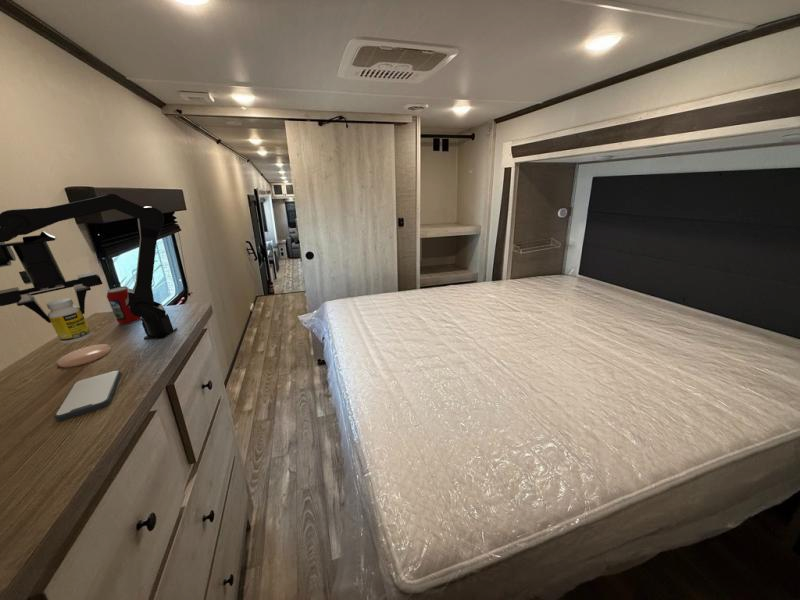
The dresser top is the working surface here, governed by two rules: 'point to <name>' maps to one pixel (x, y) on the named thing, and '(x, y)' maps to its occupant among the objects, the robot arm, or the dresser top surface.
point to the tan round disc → (84, 355)
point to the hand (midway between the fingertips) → (67, 317)
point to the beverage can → (120, 305)
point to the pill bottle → (68, 321)
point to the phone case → (88, 395)
